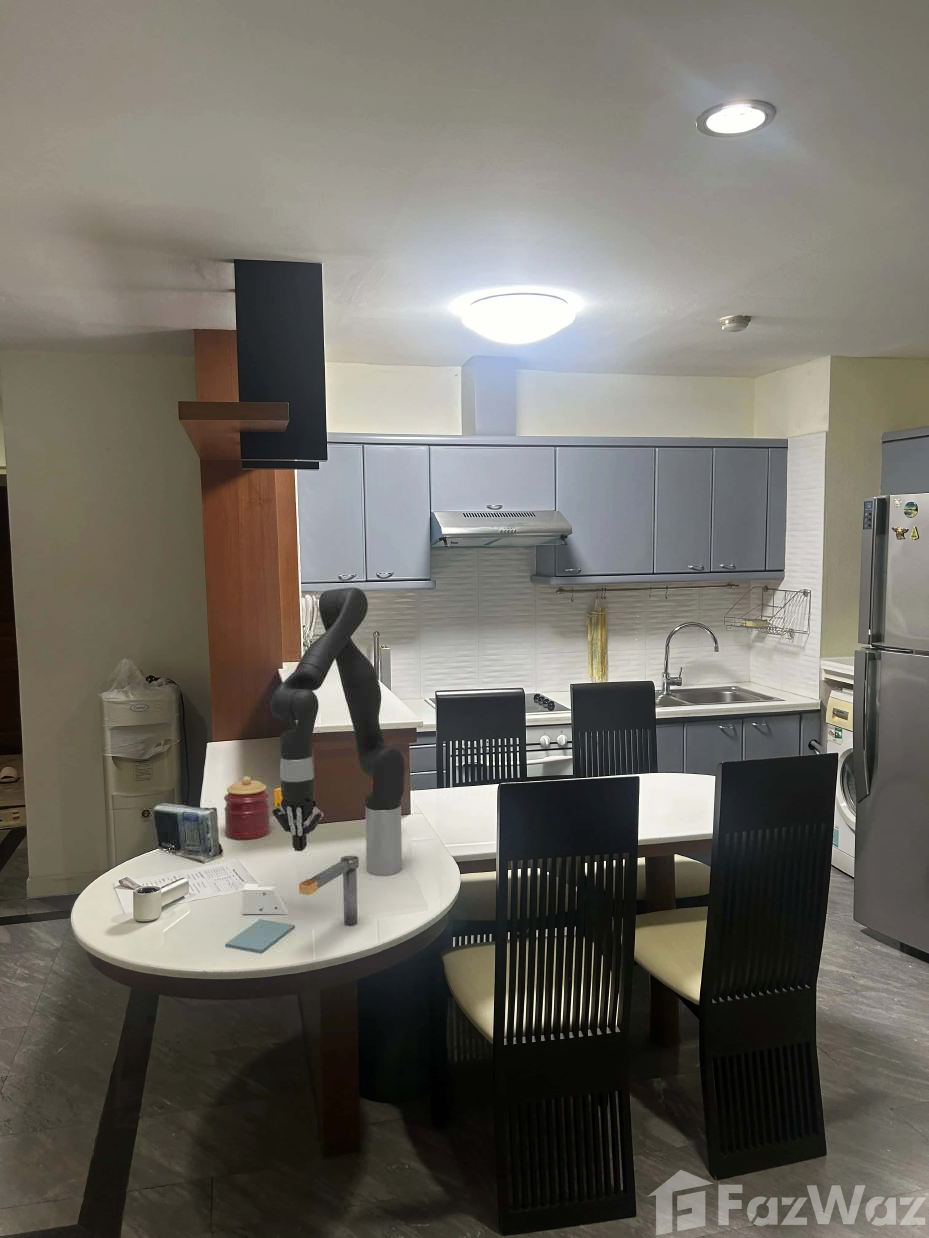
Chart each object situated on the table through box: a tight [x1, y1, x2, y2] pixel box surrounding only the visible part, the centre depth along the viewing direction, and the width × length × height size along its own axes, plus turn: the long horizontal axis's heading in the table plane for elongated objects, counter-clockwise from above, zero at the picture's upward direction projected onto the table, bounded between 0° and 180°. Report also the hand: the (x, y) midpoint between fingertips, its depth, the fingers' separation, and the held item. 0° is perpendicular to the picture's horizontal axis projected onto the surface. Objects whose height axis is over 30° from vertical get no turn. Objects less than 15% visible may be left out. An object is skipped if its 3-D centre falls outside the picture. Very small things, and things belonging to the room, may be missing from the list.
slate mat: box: [224, 918, 296, 955], centre depth 191 cm, size 13×9×1 cm
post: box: [342, 868, 358, 927], centre depth 198 cm, size 3×3×13 cm
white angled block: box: [242, 883, 289, 915], centre depth 204 cm, size 4×10×9 cm
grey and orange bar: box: [298, 855, 360, 896], centre depth 190 cm, size 19×4×2 cm, turn 154°
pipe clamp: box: [273, 787, 282, 808], centre depth 284 cm, size 12×4×6 cm, turn 61°
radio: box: [153, 802, 224, 864], centre depth 243 cm, size 23×8×14 cm, turn 51°
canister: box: [223, 775, 271, 841], centre depth 258 cm, size 13×13×18 cm
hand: (300, 849), depth 201 cm, fingers closed
